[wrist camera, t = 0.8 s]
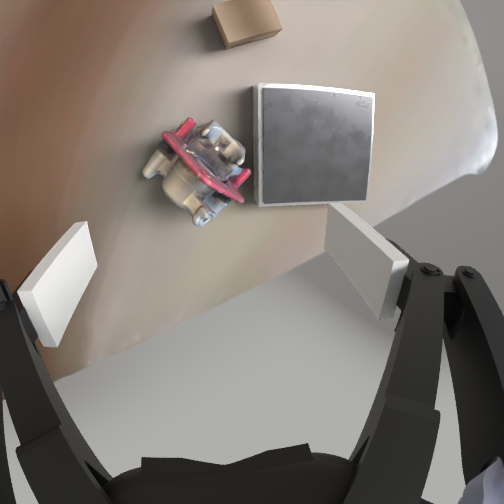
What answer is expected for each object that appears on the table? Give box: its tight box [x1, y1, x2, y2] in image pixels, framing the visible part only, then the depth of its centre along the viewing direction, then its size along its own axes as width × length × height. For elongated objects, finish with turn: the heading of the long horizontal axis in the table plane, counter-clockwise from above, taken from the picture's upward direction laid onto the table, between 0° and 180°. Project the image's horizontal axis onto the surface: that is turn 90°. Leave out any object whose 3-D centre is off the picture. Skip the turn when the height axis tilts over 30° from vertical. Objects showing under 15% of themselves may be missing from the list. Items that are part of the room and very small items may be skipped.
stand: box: [253, 84, 375, 207], centre depth 33 cm, size 14×14×4 cm
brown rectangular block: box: [212, 0, 283, 49], centre depth 25 cm, size 6×5×4 cm
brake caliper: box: [142, 118, 251, 227], centre depth 31 cm, size 11×11×12 cm
